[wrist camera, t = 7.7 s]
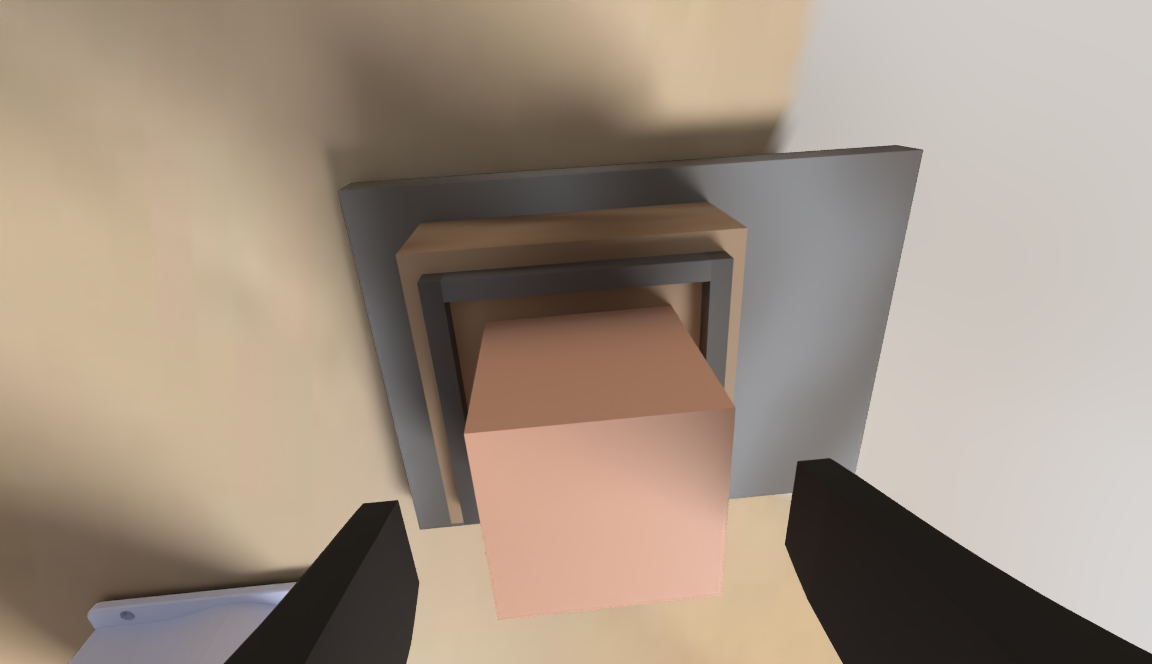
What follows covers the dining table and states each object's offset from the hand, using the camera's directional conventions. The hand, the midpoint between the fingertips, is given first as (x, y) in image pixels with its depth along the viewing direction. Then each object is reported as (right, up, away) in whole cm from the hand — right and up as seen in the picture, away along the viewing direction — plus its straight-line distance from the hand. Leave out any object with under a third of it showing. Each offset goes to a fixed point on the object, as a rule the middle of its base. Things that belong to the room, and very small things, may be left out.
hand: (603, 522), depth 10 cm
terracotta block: (0, +2, +4) cm, 5 cm away
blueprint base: (+1, +3, +8) cm, 9 cm away
